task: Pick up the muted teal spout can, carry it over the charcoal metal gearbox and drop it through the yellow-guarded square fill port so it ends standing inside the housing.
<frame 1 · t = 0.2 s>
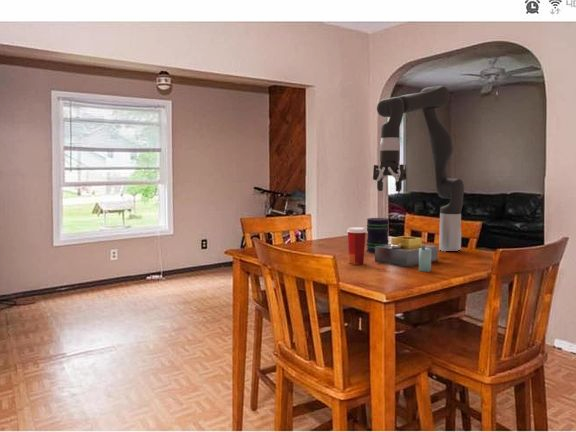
hand: (389, 191, 184), 29 cm above the table, fingers open, 8 cm apart
storage jar: (377, 251, 215), on the table
paper cup: (356, 263, 187), on the table
gearbox: (406, 260, 191), on the table
spout can: (424, 270, 173), on the table
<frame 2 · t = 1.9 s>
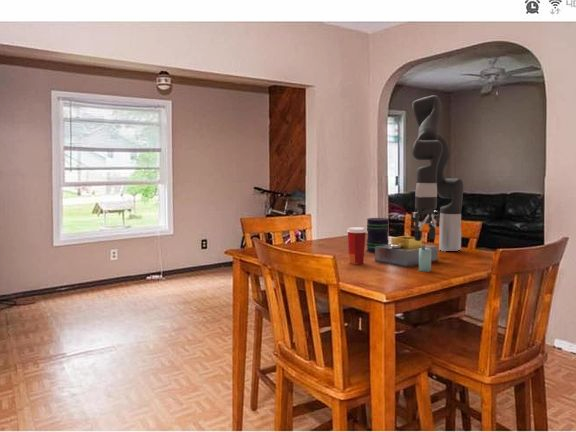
hand: (424, 239, 171), 11 cm above the table, fingers open, 8 cm apart
nothing on the table moved.
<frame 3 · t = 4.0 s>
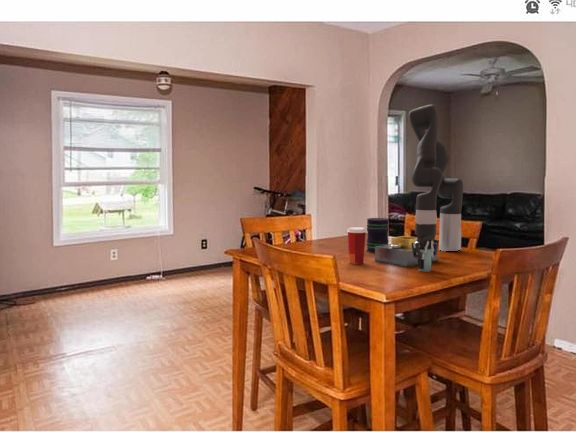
hand: (424, 267, 172), 1 cm above the table, fingers closed on spout can, 4 cm apart
spout can: (424, 270, 173), on the table, touching gripper
everything else where it was.
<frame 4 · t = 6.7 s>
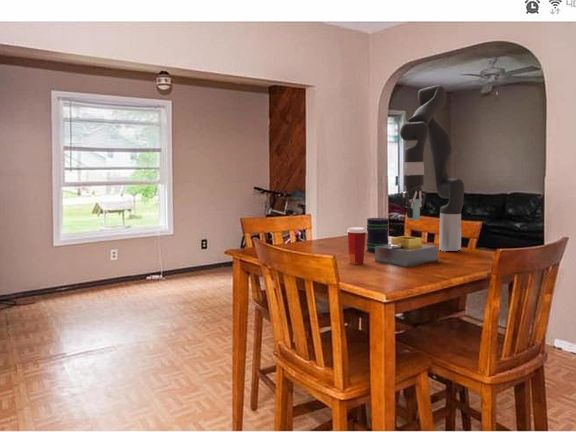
hand: (413, 216, 185), 19 cm above the table, fingers closed on spout can, 4 cm apart
spout can: (413, 219, 185), point 18 cm above the table, touching gripper
everything else where it was.
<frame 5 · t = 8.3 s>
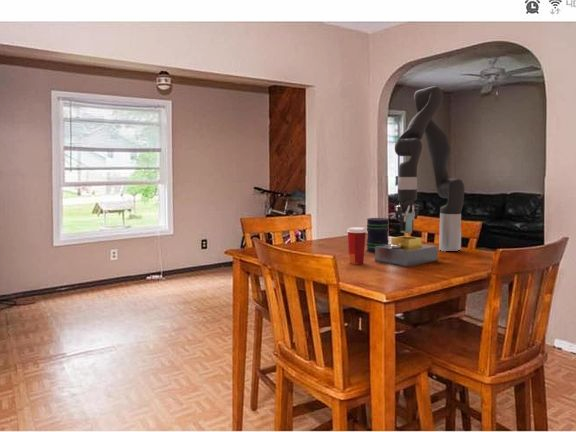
hand: (406, 230, 190), 13 cm above the table, fingers closed on spout can, 4 cm apart
spout can: (406, 232, 190), point 12 cm above the table, touching gripper
everything else where it was.
when the fingers open (11 cm above the table, at t = 9.4 s): spout can drops 10 cm, resting on gearbox.
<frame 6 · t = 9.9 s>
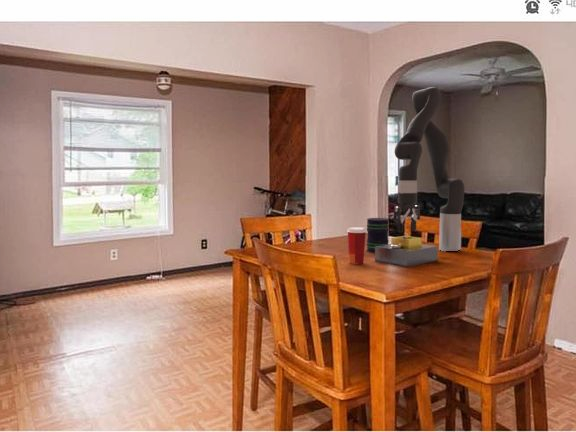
hand: (406, 231, 190), 12 cm above the table, fingers open, 8 cm apart
spout can: (405, 259, 191), point 1 cm above the table, touching gearbox
everything else where it was.
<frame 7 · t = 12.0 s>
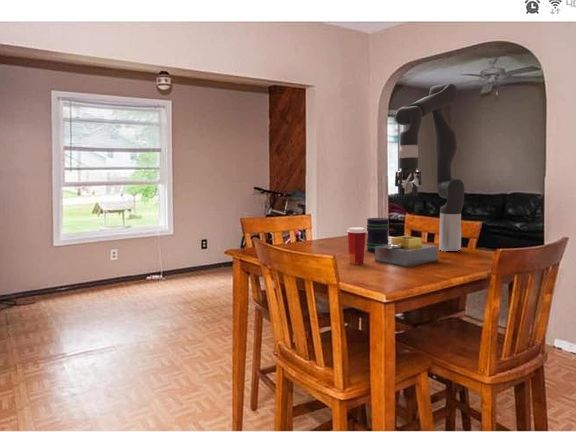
hand: (408, 196, 191), 26 cm above the table, fingers open, 8 cm apart
nothing on the table moved.
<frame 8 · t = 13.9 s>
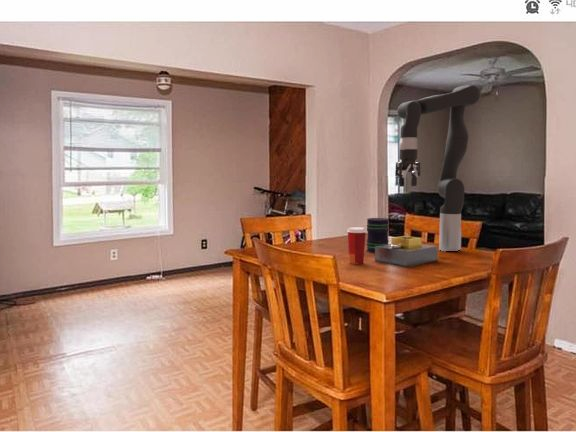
hand: (407, 186, 203), 30 cm above the table, fingers open, 8 cm apart
nothing on the table moved.
at the end: spout can 0.2 cm off-centre on the gearbox, point 0.6 cm above the gearbox's base; the gripper is holding nothing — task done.
